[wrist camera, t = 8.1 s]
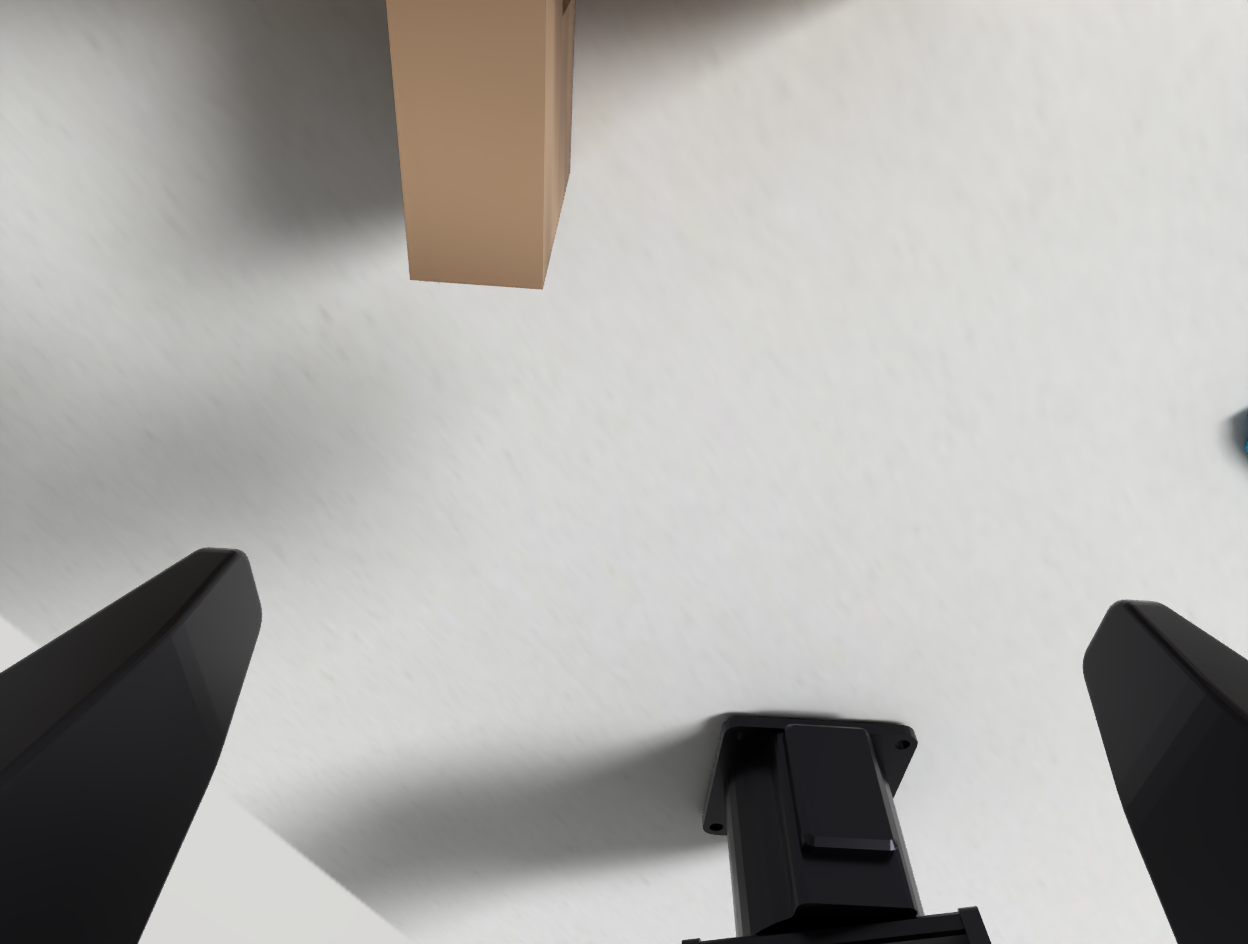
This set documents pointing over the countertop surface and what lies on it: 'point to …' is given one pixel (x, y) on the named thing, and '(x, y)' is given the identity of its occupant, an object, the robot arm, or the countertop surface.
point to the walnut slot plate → (482, 134)
